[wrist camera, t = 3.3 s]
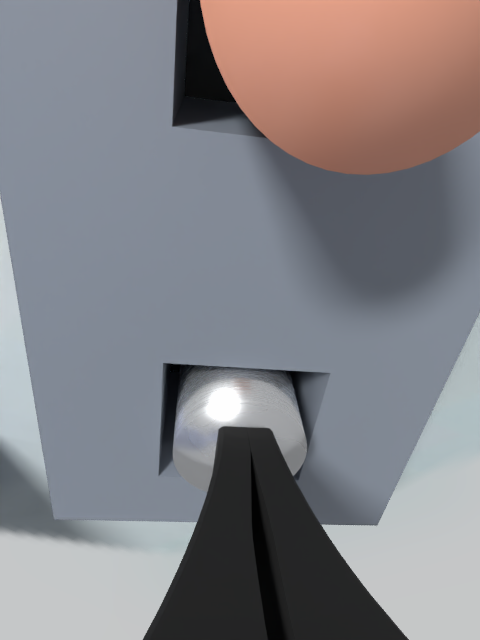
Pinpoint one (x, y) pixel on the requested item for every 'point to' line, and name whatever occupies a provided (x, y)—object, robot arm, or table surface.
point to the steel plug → (232, 415)
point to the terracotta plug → (352, 76)
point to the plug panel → (212, 268)
